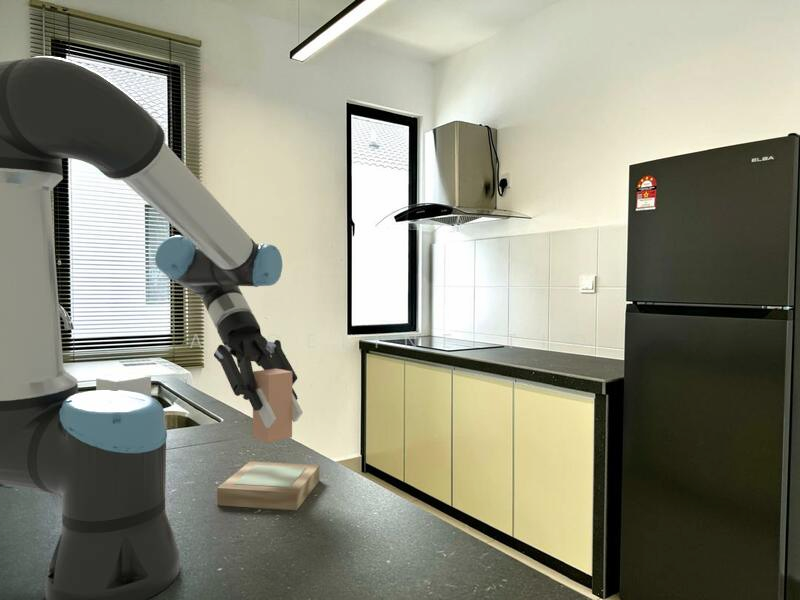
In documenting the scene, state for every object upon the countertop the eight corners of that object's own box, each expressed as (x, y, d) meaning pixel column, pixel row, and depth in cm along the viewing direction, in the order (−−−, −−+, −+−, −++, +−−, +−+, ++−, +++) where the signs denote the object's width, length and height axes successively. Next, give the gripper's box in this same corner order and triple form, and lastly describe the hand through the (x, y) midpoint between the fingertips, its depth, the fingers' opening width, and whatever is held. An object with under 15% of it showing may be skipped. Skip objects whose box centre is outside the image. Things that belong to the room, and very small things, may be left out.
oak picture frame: (296, 510, 91) (296, 492, 91) (217, 505, 93) (217, 487, 93) (319, 480, 105) (319, 464, 105) (249, 476, 107) (249, 460, 107)
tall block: (268, 443, 96) (268, 375, 95) (252, 437, 99) (252, 371, 99) (292, 437, 99) (292, 371, 99) (275, 431, 103) (276, 368, 102)
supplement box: (152, 437, 133) (152, 376, 133) (117, 446, 126) (116, 381, 125) (130, 431, 138) (130, 372, 138) (95, 439, 131) (95, 377, 130)
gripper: (266, 331, 116) (315, 422, 105) (184, 337, 102) (230, 442, 92) (281, 307, 112) (333, 399, 101) (198, 310, 99) (248, 417, 88)
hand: (284, 420), depth 97 cm, fingers closed on tall block, 5 cm apart
